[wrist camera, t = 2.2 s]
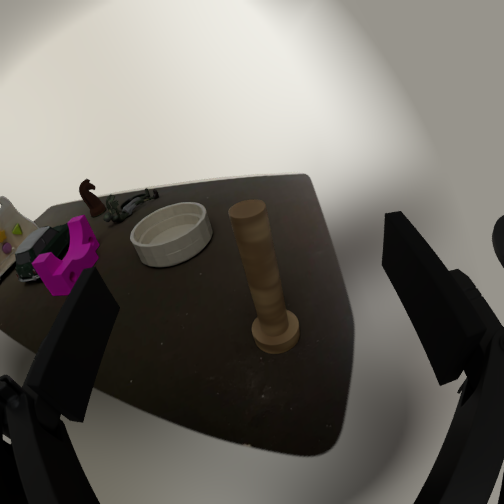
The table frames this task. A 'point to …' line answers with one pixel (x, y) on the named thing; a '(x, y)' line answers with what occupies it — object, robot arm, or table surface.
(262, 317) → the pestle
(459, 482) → the robot arm
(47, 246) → the miniature car
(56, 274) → the toy block
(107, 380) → the table surface
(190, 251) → the bowl
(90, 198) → the chess piece
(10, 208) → the shape sorter
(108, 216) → the zombie figurine
